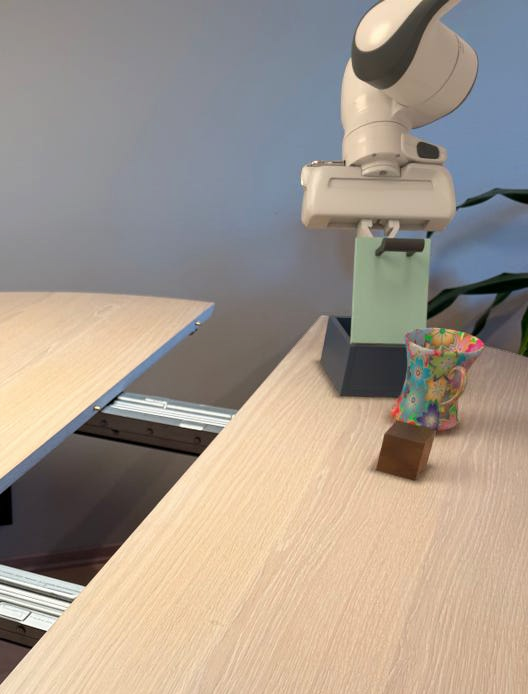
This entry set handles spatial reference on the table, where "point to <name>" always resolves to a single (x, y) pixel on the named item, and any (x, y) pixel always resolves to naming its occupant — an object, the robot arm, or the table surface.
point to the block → (405, 450)
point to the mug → (435, 376)
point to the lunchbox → (362, 363)
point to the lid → (389, 289)
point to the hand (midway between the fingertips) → (379, 255)
